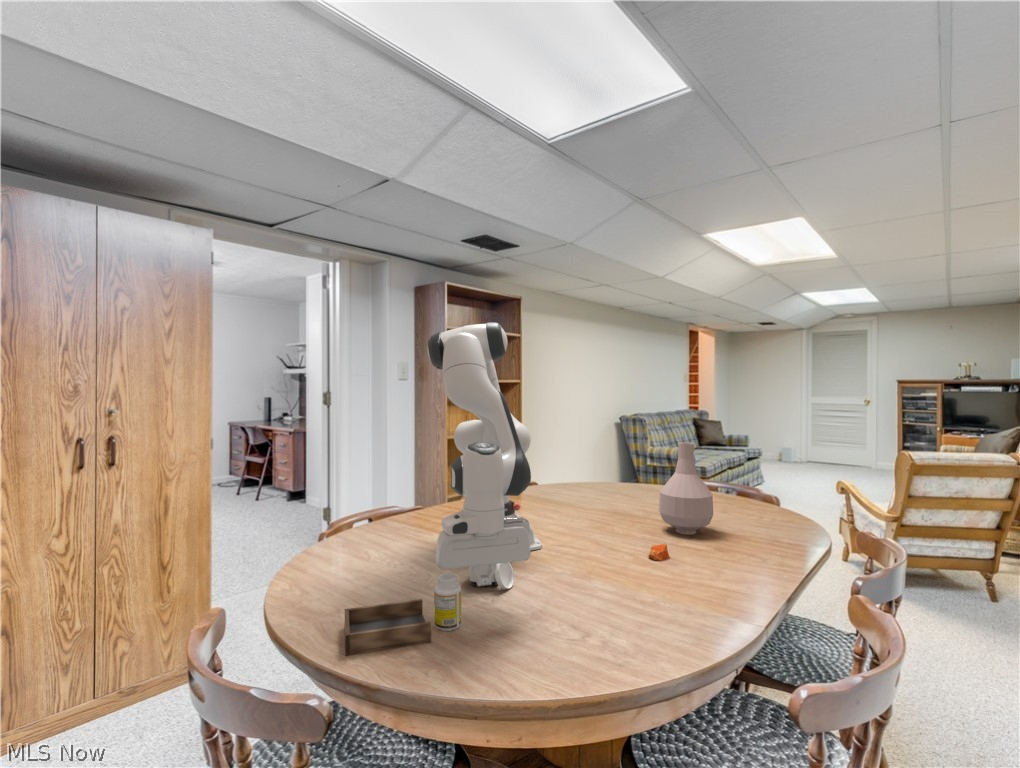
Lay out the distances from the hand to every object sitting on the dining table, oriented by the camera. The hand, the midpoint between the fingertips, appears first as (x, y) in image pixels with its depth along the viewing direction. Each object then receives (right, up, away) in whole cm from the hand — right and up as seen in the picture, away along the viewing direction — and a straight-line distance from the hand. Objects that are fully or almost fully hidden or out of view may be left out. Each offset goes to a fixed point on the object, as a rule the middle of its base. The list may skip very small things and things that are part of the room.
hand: (483, 584), depth 111 cm
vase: (+65, -8, +65) cm, 93 cm away
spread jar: (+1, -8, +20) cm, 22 cm away
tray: (-19, -8, -6) cm, 22 cm away
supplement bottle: (-7, -8, -2) cm, 11 cm away
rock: (+48, -8, +40) cm, 63 cm away
